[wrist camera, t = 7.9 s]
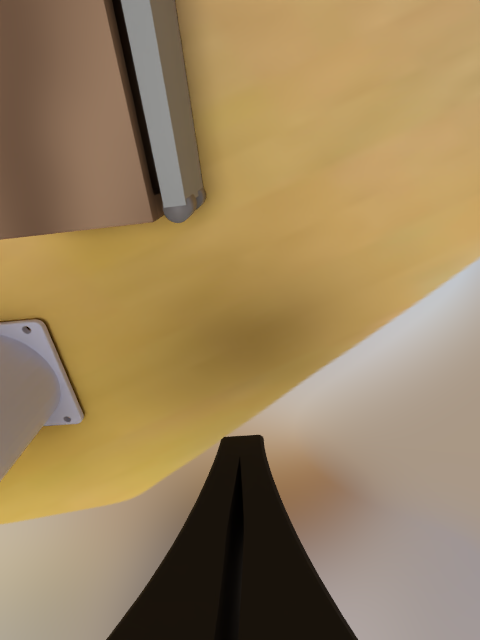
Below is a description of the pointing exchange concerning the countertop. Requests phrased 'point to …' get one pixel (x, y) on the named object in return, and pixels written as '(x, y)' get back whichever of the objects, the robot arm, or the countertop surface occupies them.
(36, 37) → the walnut cabinet
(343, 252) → the countertop surface
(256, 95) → the countertop surface
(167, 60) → the cabinet door
